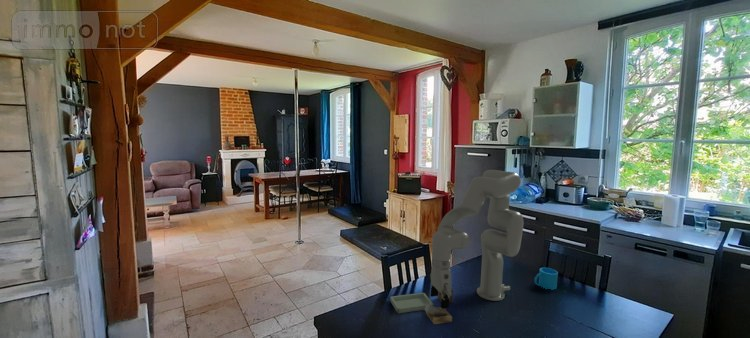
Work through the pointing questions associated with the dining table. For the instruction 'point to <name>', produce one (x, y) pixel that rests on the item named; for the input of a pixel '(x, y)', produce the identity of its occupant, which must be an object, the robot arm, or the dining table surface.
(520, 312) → the dining table surface
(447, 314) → the square wooden frame
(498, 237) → the robot arm
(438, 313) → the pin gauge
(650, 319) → the dining table surface
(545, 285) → the mug
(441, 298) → the walnut block
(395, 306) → the tray
